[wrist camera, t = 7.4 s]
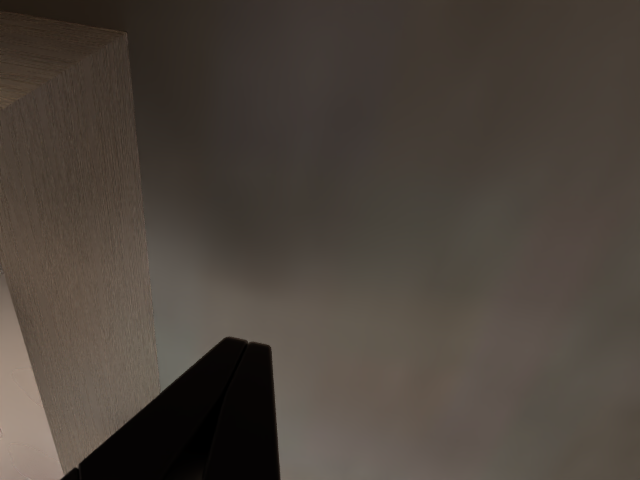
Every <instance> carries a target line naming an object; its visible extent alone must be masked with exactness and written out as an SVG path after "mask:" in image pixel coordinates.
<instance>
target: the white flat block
mask: <svg viewBox="0 0 640 480" xmlns="http://www.w3.org/2000/svg"><path fill="white" fill-rule="evenodd" d="M159 394H160V382H159V371H158V360H157V349H156V339H155V328H154V317H153V306H152V295H151V285H150V274H149V263H148V252H147V242H146V231H145V220H144V209H143V198H142V188H141V177H140V166H139V155H138V144H137V134H136V123H135V112H134V101H133V90H132V80H131V69H130V58H129V47H128V37H127V32H123V31H117V30H111V29H105V28H100V27H94V26H88V25H82V24H77V23H71V22H65V21H59V20H54V19H48V18H42V17H36V16H31V15H25V14H19V13H13V12H8V11H2V10H0V480H60V479H61V478H62V477H64V476H65V475H66V474H67V473H68V472H69V471H71V470H72V469H73V468H74V467H76V468H78V464H79V463H80V462H81V461H82V460H84V459H85V458H86V457H87V456H88V455H89V454H91V453H92V452H93V451H94V450H95V449H96V448H98V447H99V446H100V445H101V444H102V443H103V442H104V441H106V440H107V439H108V438H109V437H110V436H111V435H113V434H114V433H115V432H116V431H117V430H118V429H120V428H121V427H122V426H123V425H124V424H125V423H127V422H128V421H129V420H130V419H131V418H132V417H133V416H135V415H136V414H137V413H138V412H139V411H140V410H142V409H143V408H144V407H145V406H146V405H147V404H149V403H150V402H151V401H152V400H153V399H154V398H155V397H157V396H158V395H159Z"/></svg>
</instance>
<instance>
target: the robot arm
mask: <svg viewBox="0 0 640 480" xmlns="http://www.w3.org/2000/svg"><path fill="white" fill-rule="evenodd" d="M60 480H280V465H279V451H278V437H277V422H276V408H275V394H274V380H273V365H272V351H271V347H270V346H269V345H267V344H262V343H257V342H250V343H249V344H248V342H247V341H246V340H243V339H239V338H234V337H226V338H224V339H223V340H222V341H220V342H219V343H218V344H217V345H216V346H215V347H213V348H212V349H211V350H210V351H209V352H208V353H206V354H205V355H204V356H203V357H202V358H201V359H200V360H198V361H197V362H196V363H195V364H194V365H193V366H191V367H190V368H189V369H188V370H187V371H186V372H184V373H183V374H182V375H181V376H180V377H179V378H178V379H176V380H175V381H174V382H173V383H172V384H171V385H169V386H168V387H167V388H166V389H165V390H164V391H162V392H161V393H160V394H159V395H158V396H157V397H155V398H154V399H153V400H152V401H151V402H150V403H149V404H147V405H146V406H145V407H144V408H143V409H142V410H140V411H139V412H138V413H137V414H136V415H135V416H133V417H132V418H131V419H130V420H129V421H128V422H127V423H125V424H124V425H123V426H122V427H121V428H120V429H118V430H117V431H116V432H115V433H114V434H113V435H111V436H110V437H109V438H108V439H107V440H106V441H104V442H103V443H102V444H101V445H100V446H99V447H98V448H96V449H95V450H94V451H93V452H92V453H91V454H89V455H88V456H87V457H86V458H85V459H84V460H82V461H81V462H80V463H79V464H78V468H76V467H74V468H73V469H72V470H71V471H69V472H68V473H67V474H66V475H65V476H64V477H62V478H61V479H60Z"/></svg>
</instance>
